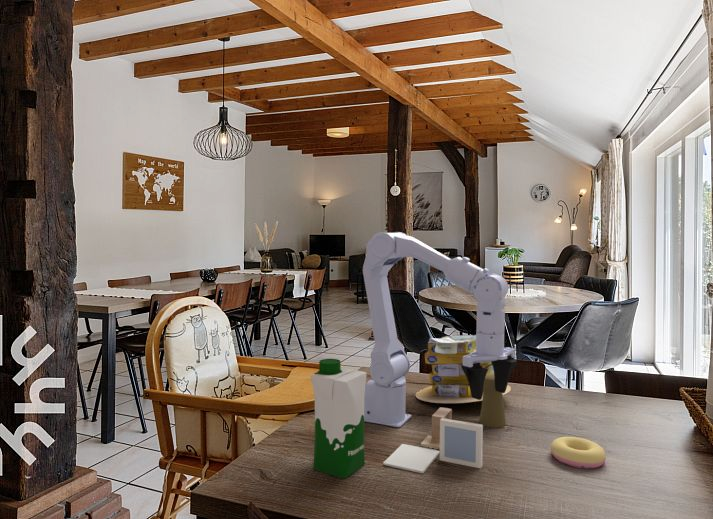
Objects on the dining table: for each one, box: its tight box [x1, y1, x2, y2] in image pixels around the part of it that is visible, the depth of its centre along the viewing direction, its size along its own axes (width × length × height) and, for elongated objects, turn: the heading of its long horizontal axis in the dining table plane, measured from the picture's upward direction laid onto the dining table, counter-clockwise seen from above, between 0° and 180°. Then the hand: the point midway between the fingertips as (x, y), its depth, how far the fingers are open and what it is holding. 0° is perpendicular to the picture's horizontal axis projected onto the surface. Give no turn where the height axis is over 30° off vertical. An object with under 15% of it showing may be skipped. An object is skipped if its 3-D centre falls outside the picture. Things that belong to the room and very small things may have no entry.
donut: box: [550, 436, 607, 469], centre depth 103 cm, size 10×5×9 cm
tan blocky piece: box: [420, 407, 453, 451], centre depth 112 cm, size 10×5×6 cm, turn 154°
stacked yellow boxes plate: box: [415, 334, 512, 405], centre depth 140 cm, size 25×25×17 cm
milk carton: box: [310, 358, 368, 480], centre depth 99 cm, size 9×9×20 cm
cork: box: [478, 375, 507, 429], centre depth 122 cm, size 6×6×11 cm
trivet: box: [382, 443, 440, 474], centre depth 103 cm, size 8×10×1 cm
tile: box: [439, 418, 484, 469], centre depth 101 cm, size 8×1×8 cm, turn 64°
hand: (488, 395), depth 112 cm, fingers open, 7 cm apart
